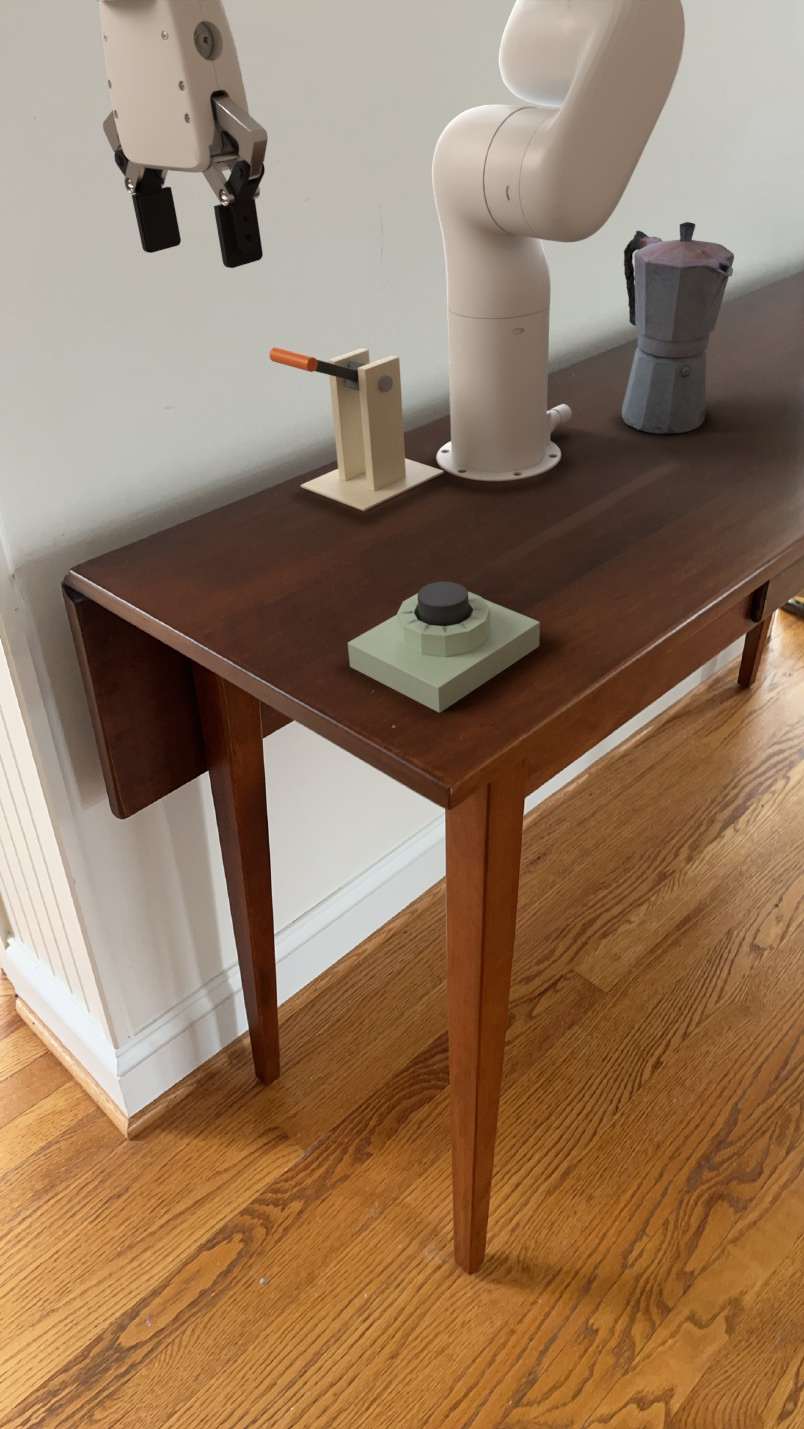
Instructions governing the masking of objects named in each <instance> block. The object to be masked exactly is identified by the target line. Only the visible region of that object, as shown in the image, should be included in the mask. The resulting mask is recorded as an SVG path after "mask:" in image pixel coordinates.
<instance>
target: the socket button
mask: <svg viewBox="0 0 804 1429" xmlns="http://www.w3.org/2000/svg"><path fill="white" fill-rule="evenodd" d="M468 592H469V591H468V590H467V588H466V587H465V586H463V585H462V584H461V583H460V584H459V583H456V582H453V581H438V582H437V581H436V582H432V583H428V584H426V585H424V586H423V587H421V588H420V589H419V590H418V592H417V593H418V613H419V618H420V620H421V621H422V622H424V623H426V624H428V625H434V626H450V625H455V624H460V623H461V622H463V621H465V620H466V619H467V617H468V614H469V609H468Z"/></svg>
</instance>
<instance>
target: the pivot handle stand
mask: <svg viewBox="0 0 804 1429" xmlns="http://www.w3.org/2000/svg"><path fill="white" fill-rule="evenodd" d="M350 360H352V361H356V362H360V363H364V364H367V365H364V366H361V367H359V368H358V379H359V391H358V390H354V389H351V388H347V387H344V383H345V379H343V378H339V377H335V376H331V375H328V378H329V379H328V380H329V388H330V398H331V408H332V419H333V429H334V430H333V431H334V440H335V448H336V459H337V468H336V469H334V470H332V471H329V472H327V473H325V474H322V475H320V476H318V477H316V478H313V479H311V480H308V481H306V482H305V483H302V484H300V488H302V489H305V490H308V491H309V492H313V493H316V494H318V495H321V496H324V497H325V498H329V499H331V500H334V501H336V502H339V503H342V504H345V505H346V506H350V507H351V508H352V507H353V508H354V509H357V510H360V511H362V512H365V511H368V510H370V509H372V508H374V507H376V506H378V505H380V504H382V503H384V502H386V501H389V500H390V499H393V498H395V497H397V496H399V495H401V494H403V493H405V492H407V491H410V490H411V489H413V488H415V487H417V486H420V485H422V484H424V483H426V482H428V481H430V480H432V479H435V478H437V477H438V476H439V477H440V476H441V475H443V474H444V473H445V470H444V469H439V468H436V467H433V466H431V465H427V464H424V463H421V462H418V461H415V460H411V459H408V458H406V452H405V451H406V450H405V436H404V435H405V434H404V417H403V398H402V383H401V382H402V381H401V380H402V379H401V366H400V365H401V364H400V356H396V355H394V354H393V355H392V354H391V355H388V356H386V357H384V358H381V359H378V360H375V361H372V362H371V361H370V350H369V349H367V348H365V347H364V348H363V347H360V348H358V349H355V350H352V351H350V352H347V353H344V354H340V355H338V356H335V357H332V358H330V359H328V360H327V362H328V363H332V364H336V365H340V366H343V367H347V368H348V365H349V361H350Z"/></svg>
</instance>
